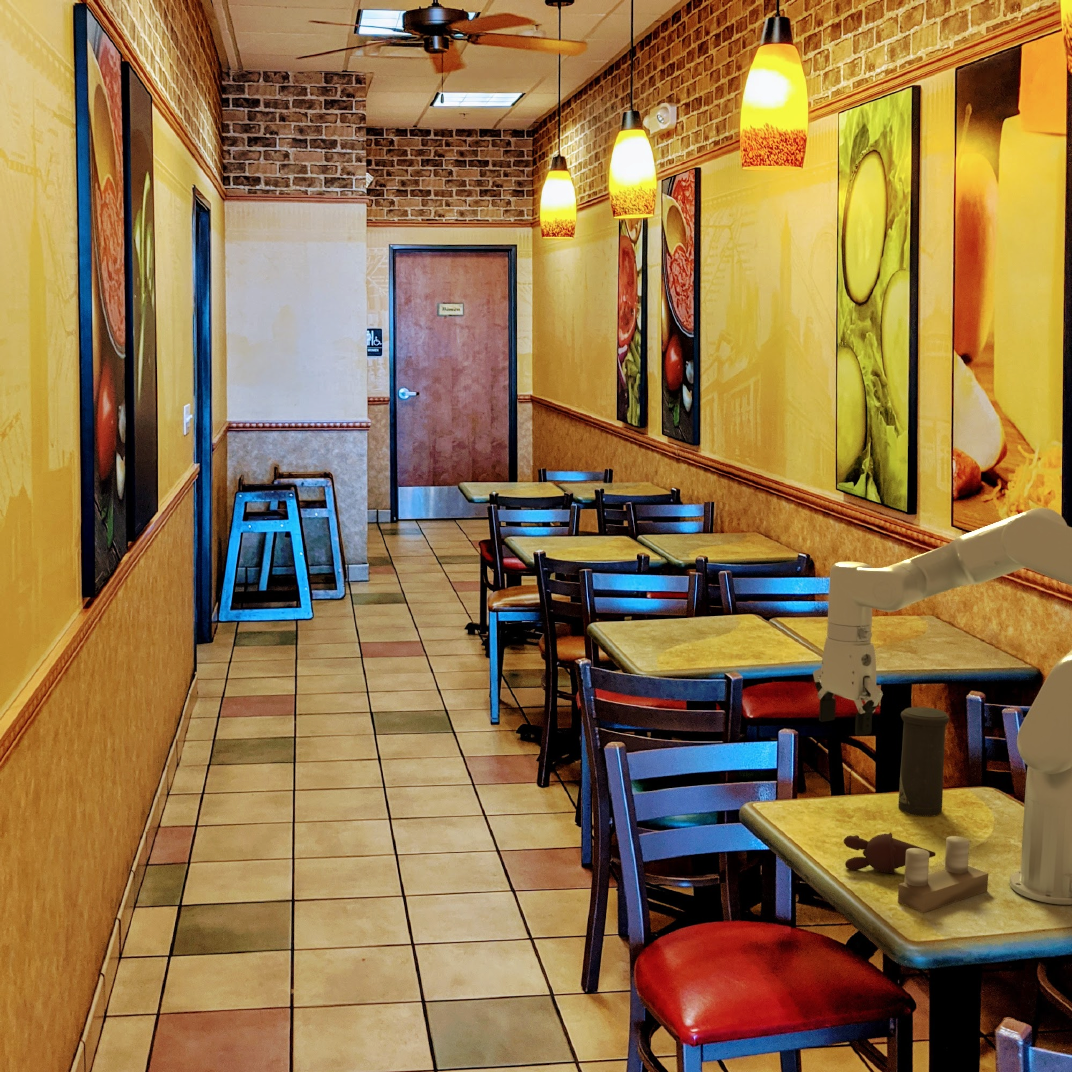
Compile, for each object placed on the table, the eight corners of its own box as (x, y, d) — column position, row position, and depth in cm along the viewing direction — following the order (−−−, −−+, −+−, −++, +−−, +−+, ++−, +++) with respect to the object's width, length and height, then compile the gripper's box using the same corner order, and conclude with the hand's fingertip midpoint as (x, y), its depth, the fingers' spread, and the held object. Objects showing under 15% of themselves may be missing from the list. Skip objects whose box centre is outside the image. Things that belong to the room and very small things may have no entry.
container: (919, 799, 259) (924, 701, 256) (953, 813, 251) (959, 712, 249) (886, 806, 255) (891, 706, 252) (921, 820, 247) (926, 717, 244)
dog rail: (987, 890, 213) (990, 844, 212) (923, 912, 204) (925, 863, 203) (957, 879, 218) (960, 833, 217) (893, 900, 209) (896, 852, 208)
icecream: (932, 830, 223) (843, 830, 227) (935, 834, 216) (843, 834, 219) (935, 872, 222) (845, 871, 226) (938, 877, 215) (844, 876, 218)
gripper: (899, 640, 223) (894, 737, 225) (834, 622, 238) (829, 713, 240) (865, 643, 219) (860, 742, 221) (801, 625, 235) (797, 717, 237)
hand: (844, 727), depth 231 cm, fingers open, 9 cm apart
